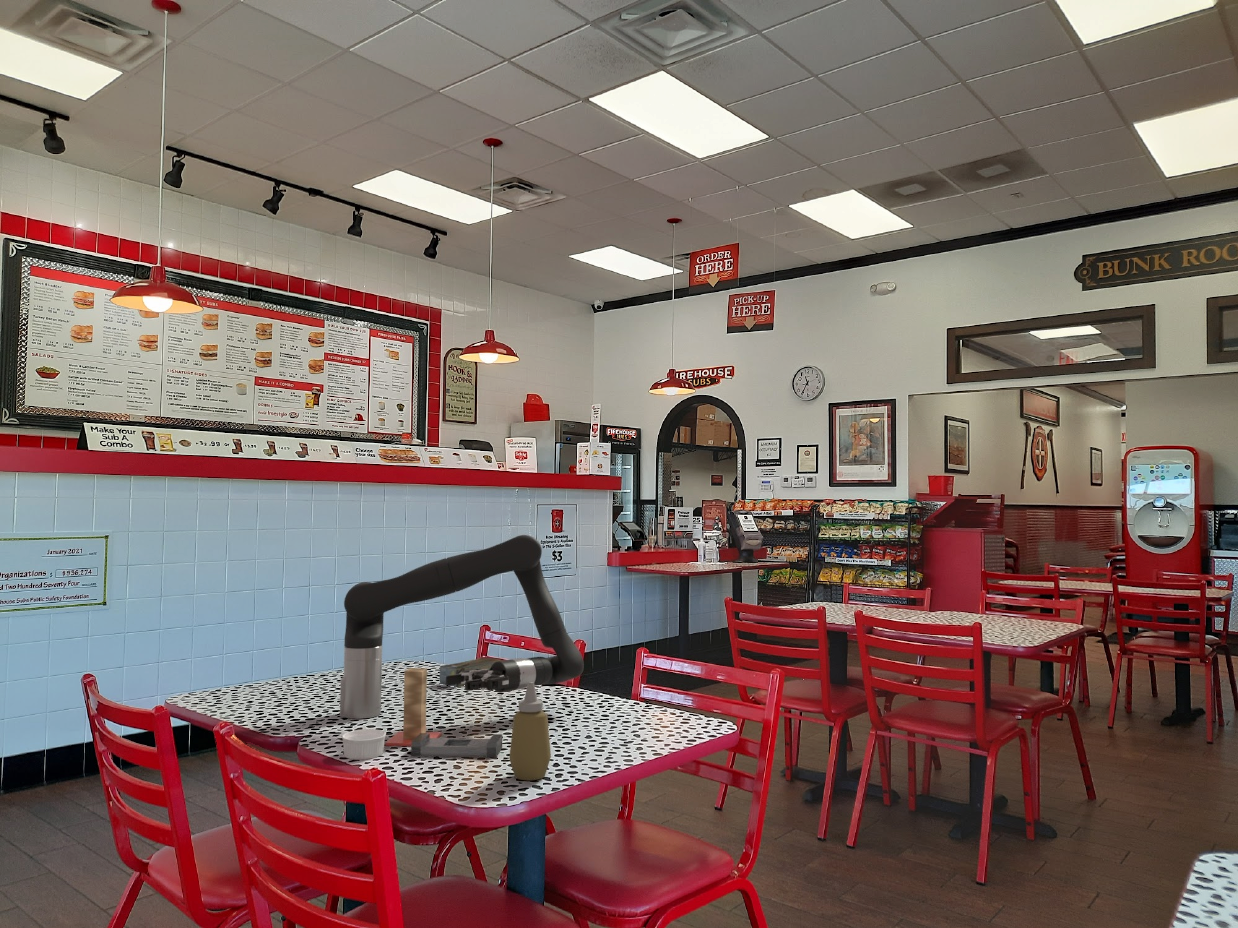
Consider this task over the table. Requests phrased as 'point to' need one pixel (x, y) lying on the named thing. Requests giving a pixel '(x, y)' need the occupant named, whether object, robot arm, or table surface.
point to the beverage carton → (465, 668)
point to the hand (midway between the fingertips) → (456, 683)
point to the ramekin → (363, 744)
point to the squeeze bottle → (530, 738)
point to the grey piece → (456, 746)
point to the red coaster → (398, 740)
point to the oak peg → (414, 702)
